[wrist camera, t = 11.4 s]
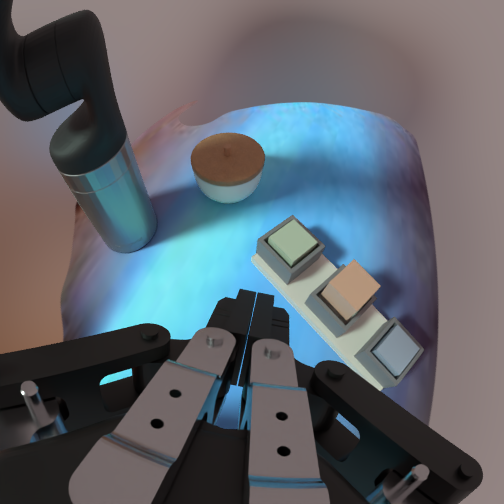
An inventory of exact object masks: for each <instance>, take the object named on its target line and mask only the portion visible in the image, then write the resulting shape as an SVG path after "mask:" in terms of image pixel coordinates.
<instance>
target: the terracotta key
mask: <svg viewBox="0 0 504 504" xmlns="http://www.w3.org/2000/svg"><path fill="white" fill-rule="evenodd" d="M379 288H380V285H379V284H378V283H377V282H376V281H375V280H374V279H373V278H372V277H371V276H370V275H369V274H368V273H367V272H366V271H365V270H364V268H363V267H362V266H361V265H360V264H359V263H358V262H357V261H356V260H353V261H352V262H351V263H350V264H348V265H347V266H346V267H345V268H344V269H343V270H342V271H341V272H340V273H339V274H338V275H337V276H336V277H334V278H333V279H332V280H331V281H330V282H329V283H328V285H327V286H326V288H325V289H324V290H323V292H322V293H321V294H322V295H323V296H324V297H325V298H326V299H327V300H328V301H329V303H330V304H331V305H332V306H333V307H334V308H335V309H336V310H337V311H338V312H339V313H340V314H341V315H342V316H343V317H344V318H345V319H346V320H348V319H349V318H350V317H351V316H352V315H354V314H355V313H356V312H357V311H358V310H359V309H360V308H361V307H362V306H363V305H364V304H365V303H366V302H367V301H368V300H369V298H370V297H371V296H372V295H373V294H374V293H375V292H376V291H377V290H378V289H379Z"/></svg>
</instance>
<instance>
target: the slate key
mask: <svg viewBox="0 0 504 504" xmlns="http://www.w3.org/2000/svg"><path fill="white" fill-rule="evenodd" d="M419 349H420V348H419V347H418V346H417V345H416V344H415V343H414V342H413V341H412V340H411V338H410V337H409V336H408V335H407V334H406V333H405V332H404V331H403V330H402V329H401V327H400V326H399V325H396V326H394V327H393V328H391V329H389V330H388V331H387V332H386V333H385V334H384V335H383V337H382V338H381V339H380V340H379V341H378V342H377V344H376V345H375V346H374V347H373V348H372V349H371V350H370V352H371V353H372V354H373V355H374V356H375V357H376V359H377V360H378V361H379V362H380V363H381V364H382V365H383V366H384V367H385V368H386V369H387V370H388V372H389V373H390V374H391V375H392V376H397V375H400V374H401V372H402V371H403V370H404V369H405V367H406V366H407V365H408V364H409V362H410V361H411V360H412V358H413V357H414V356H415V354H416V353H417V352H418V350H419Z"/></svg>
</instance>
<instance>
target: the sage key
mask: <svg viewBox="0 0 504 504" xmlns="http://www.w3.org/2000/svg"><path fill="white" fill-rule="evenodd" d="M317 243H318V242H317V241H316V240H315V239H314V238H313V237H312V236H311V235H310V234H309V233H308V232H307V231H306V230H305V229H304V228H303V227H302V226H301V225H299V224H298V223H297V222H296V221H295V220H294V219H293V220H292V221H291V222H289V223H288V224H286V225H285V226H284V227H282V228H281V229H279V230H278V231H277V232H275V233H274V234H272V235H271V236H270V237H269V239H268V245H269V246H270V247H271V248H272V249H273V250H274V251H275V252H276V253H277V255H278V256H279V257H280V258H281V259H282V260H283V261H284V262H285V263H286V264H287V265H288V266H289V267H290V268H291V269H292V268H293V267H294V266H296V265H297V264H298V263H299V262H301V261H302V260H303V259H304V258H306V257H307V256H308V255H309V254H311V253H312V252H313V251H314V249H315V247H316V245H317Z"/></svg>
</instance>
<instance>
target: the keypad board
mask: <svg viewBox="0 0 504 504" xmlns="http://www.w3.org/2000/svg"><path fill="white" fill-rule="evenodd" d="M293 219H294V220H295V221H296V222H297V223H298V224H299V225H301V226H302V227H303V228H304V229H305V230H306V231H307V232H308V233H309V234H310V235H311V236H312V237H313V238H314V239H315V240H316V241H317V242H318V243H317V245H316V247H315V249H314V251H313V252H312V253H311V254H309V255H308V256H307V257H306V258H304V259H303V260H302V261H301V262H299V263H298V264H297V265H296V266H294V267H293V268H292V269H291V268H290V267H289V266H288V265H287V264H286V263H285V262H284V261H283V260H282V259H281V258H280V257H279V256H278V255H277V253H276V252H275V251H274V250H273V249H272V248H271V247H270V246H269V245H268V239H269V237H270V236H271V235H272V234H274V233H275V232H277V231H278V230H279V229H281V228H282V227H284V226H285V225H286V224H288V223H289V222H291V221H292V220H293ZM324 248H325V245H324V244H323V243H322V242H321V241H320V240H319V239H318V238H317V237H316V236H314V235H313V234H312V233H311V232H310V231H309V230H308V229H307V228H306V227H305V226H304V225H303V224H302V223H301V222H300V221H299V220H298V219H297V218H296V217H294V216H293V215H292V216H290V217H289V218H287V219H286V220H284V221H283V222H282V223H280V224H279V225H277V226H276V227H274V228H273V229H272V230H270V231H269V232H267V233H266V234H265V235H263V236H262V237H260V238H259V239H258V241H257V250H256V254H255V255H253V256H252V258H251V262H252V263H253V264H254V265H255V266H256V267H257V269H258V270H259V271H260V272H261V273H262V274H263V275H264V276H265V277H266V278H267V279H268V280H269V282H270V283H271V284H272V285H273V286H274V287H275V288H276V289H277V290H278V291H279V292H280V293H281V294H282V296H283V297H284V298H285V299H286V300H287V301H288V302H289V303H290V304H291V305H292V306H293V307H294V308H295V310H296V311H297V312H298V313H299V314H300V315H301V316H302V317H303V318H304V319H305V320H306V321H307V322H308V323H309V325H310V326H311V327H312V328H313V329H314V330H315V331H316V332H317V333H318V334H319V335H320V336H321V337H322V338H323V340H324V341H325V342H326V343H327V344H328V345H329V346H330V347H331V348H332V349H333V350H334V351H335V352H336V353H337V355H338V356H339V357H340V358H341V359H342V360H343V361H344V362H345V363H346V364H347V365H348V366H349V367H350V368H351V369H352V370H353V371H355V372H356V373H357V374H358V375H360V376H361V377H362V378H364V379H365V380H366V381H368V382H369V383H370V384H372V385H373V386H374V387H375V388H377V389H378V390H379V391H381V390H382V389H383V388H388V387H394V386H397V385H398V384H399V382H400V381H401V380H402V379H403V377H404V376H405V375H406V374H407V372H408V371H409V370H410V368H411V367H412V366H413V364H414V363H415V362H416V360H417V359H418V358H419V356H420V355H421V354H422V352H423V351H424V349H423V348H422V346H421V345H420V344H419V343H418V342H417V341H416V340H415V339H414V337H413V336H412V335H411V334H410V333H409V332H408V331H407V330H406V329H405V328H404V326H403V325H402V324H401V323H400V322H399V321H398V320H397V319H396V318H395V317H393V318H391V319H390V320H388V321H387V320H386V319H385V318H384V317H383V316H382V315H381V313H380V312H379V311H378V310H377V309H376V308H375V307H374V306H373V305H372V303H373V302H374V301H375V300H376V299H377V298H376V297H375V296H374V294H373V295H372V296H371V297H370V298H369V300H368V301H367V302H366V303H365V304H364V305H363V306H362V307H361V308H360V309H359V310H358V311H357V312H356V313H355V314H354V315H352V316H351V317H350V318H349V319H348V320H346V319H345V318H344V317H343V316H342V315H341V314H340V313H339V312H338V311H337V310H336V309H335V308H334V307H333V306H332V305H331V304H330V303H329V301H328V300H327V299H326V298H325V297H324V296H323V295H322V294H321V293H322V292H323V290H324V289H325V288H326V286H327V285H328V283H329V282H330V281H331V280H332V279H333V278H334V277H336V276H337V275H338V274H339V273H340V272H341V271H342V270H343V269H344V268H345V267H346V266H345V265H344V264H343V265H342V266H341V267H340V268H338V269H337V268H336V267H335V266H334V265H333V264H332V263H331V262H330V261H329V260H328V259H327V258H326V257H325V256H324V255H323V254H322V252H323V250H324ZM396 325H399V326H400V327H401V329H402V330H403V331H404V332H405V333H406V334H407V335H408V336H409V337H410V338H411V340H412V341H413V342H414V343H415V344H416V345H417V346H418V347H419V348H420V349H419V350H418V352H417V353H416V354H415V356H414V357H413V358H412V360H411V361H410V362H409V364H408V365H407V366H406V367H405V369H404V370H403V371H402V372H401V374H400V375H397V376H392V375H391V374H390V373H389V372H388V370H387V369H386V368H385V367H384V366H383V365H382V364H381V363H380V362H379V361H378V360H377V359H376V357H375V356H374V355H373V354H372V353H371V352H370V350H371V349H372V348H373V347H374V346H375V345H376V344H377V342H378V341H379V340H380V339H381V338H382V337H383V335H384V334H385V333H386V332H387V331H388V330H389V329H391V328H393V327H394V326H396Z"/></svg>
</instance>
